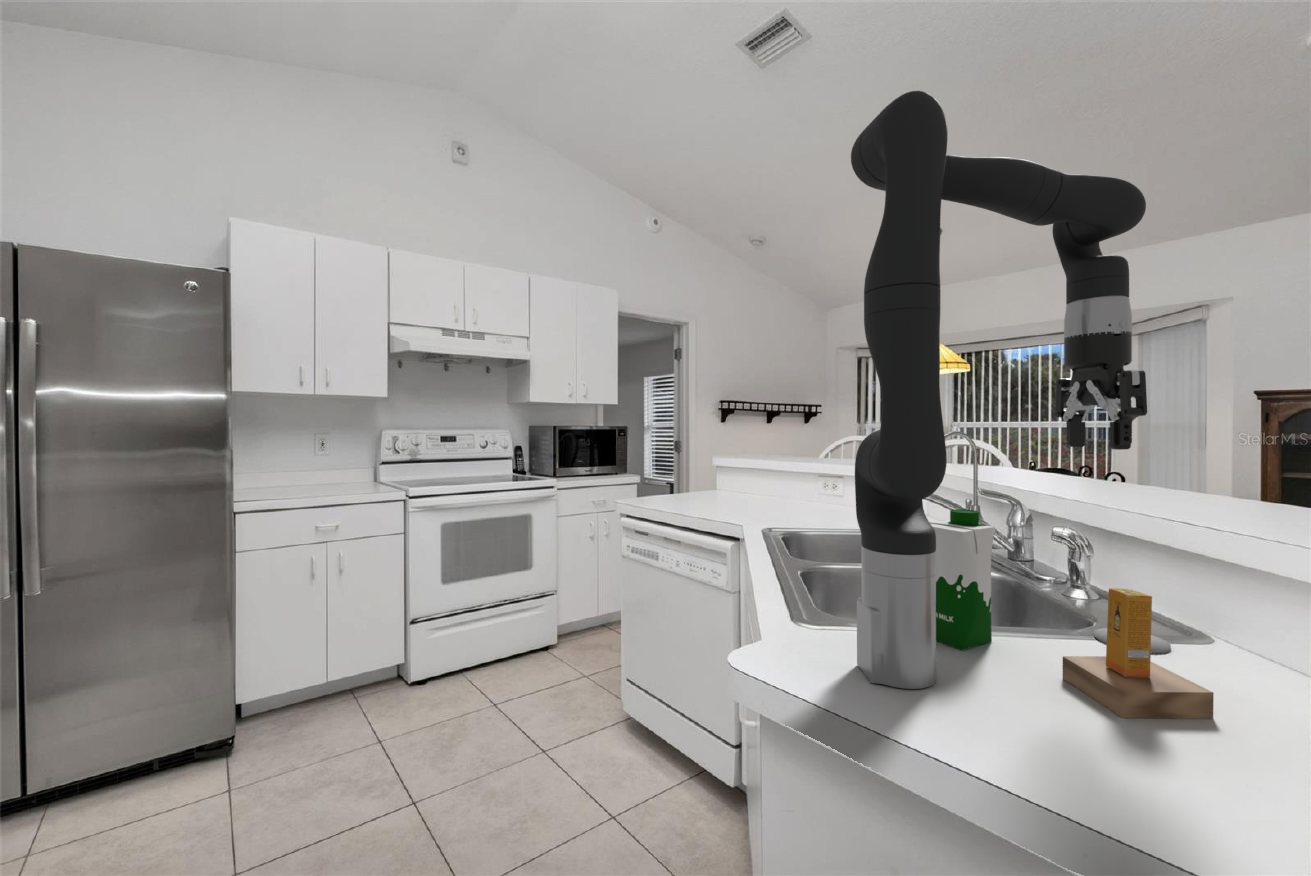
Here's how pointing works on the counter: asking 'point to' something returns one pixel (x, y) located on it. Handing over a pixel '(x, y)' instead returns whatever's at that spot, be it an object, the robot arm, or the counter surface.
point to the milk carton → (963, 580)
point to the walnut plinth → (1138, 690)
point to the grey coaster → (1156, 642)
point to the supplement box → (1129, 633)
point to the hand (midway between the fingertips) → (1097, 448)
